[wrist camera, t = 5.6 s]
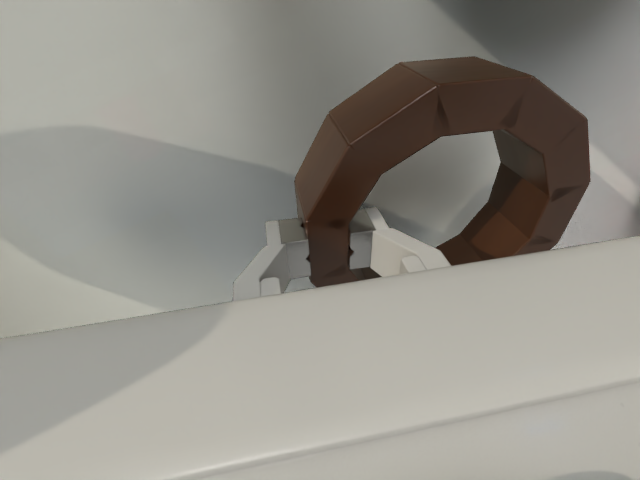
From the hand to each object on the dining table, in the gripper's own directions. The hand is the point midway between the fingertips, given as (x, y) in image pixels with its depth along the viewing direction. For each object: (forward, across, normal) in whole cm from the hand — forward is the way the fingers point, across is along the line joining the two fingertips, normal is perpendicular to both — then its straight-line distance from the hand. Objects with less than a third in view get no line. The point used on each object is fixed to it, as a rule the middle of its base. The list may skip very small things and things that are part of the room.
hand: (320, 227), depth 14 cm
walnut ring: (+2, -5, 0) cm, 5 cm away
